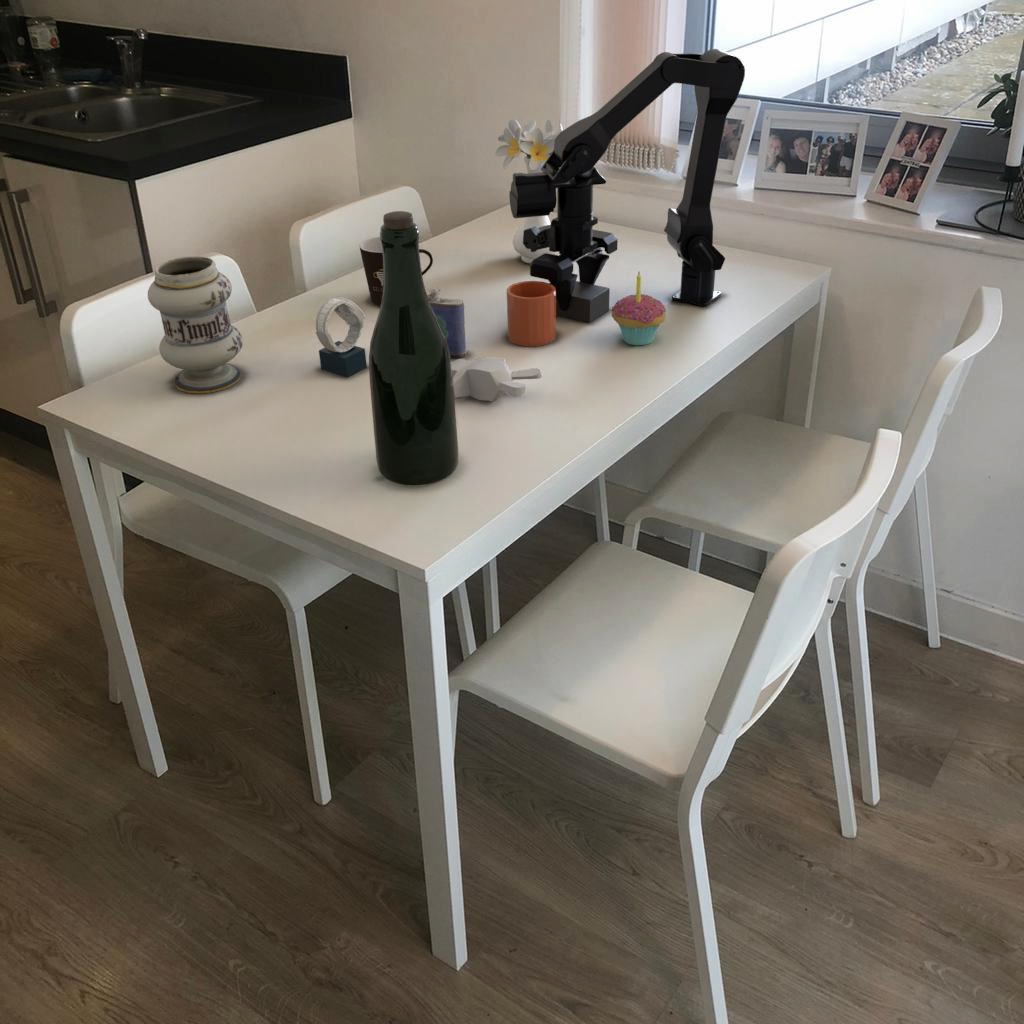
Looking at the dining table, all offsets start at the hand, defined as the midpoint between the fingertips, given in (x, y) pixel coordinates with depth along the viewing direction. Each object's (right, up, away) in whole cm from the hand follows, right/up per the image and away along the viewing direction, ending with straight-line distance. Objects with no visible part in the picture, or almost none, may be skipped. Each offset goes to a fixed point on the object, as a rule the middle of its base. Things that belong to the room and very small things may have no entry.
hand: (574, 303), depth 182 cm
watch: (-36, -13, -17) cm, 42 cm away
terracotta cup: (-7, -7, -8) cm, 13 cm away
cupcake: (+9, -8, -10) cm, 16 cm away
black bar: (0, -1, +1) cm, 1 cm away
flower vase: (-5, +13, +23) cm, 27 cm away
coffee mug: (-31, +2, +7) cm, 31 cm away
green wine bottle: (-23, -30, -43) cm, 57 cm away
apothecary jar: (-57, -15, -19) cm, 62 cm away
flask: (-22, -10, -13) cm, 28 cm away
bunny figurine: (-14, -18, -26) cm, 35 cm away
